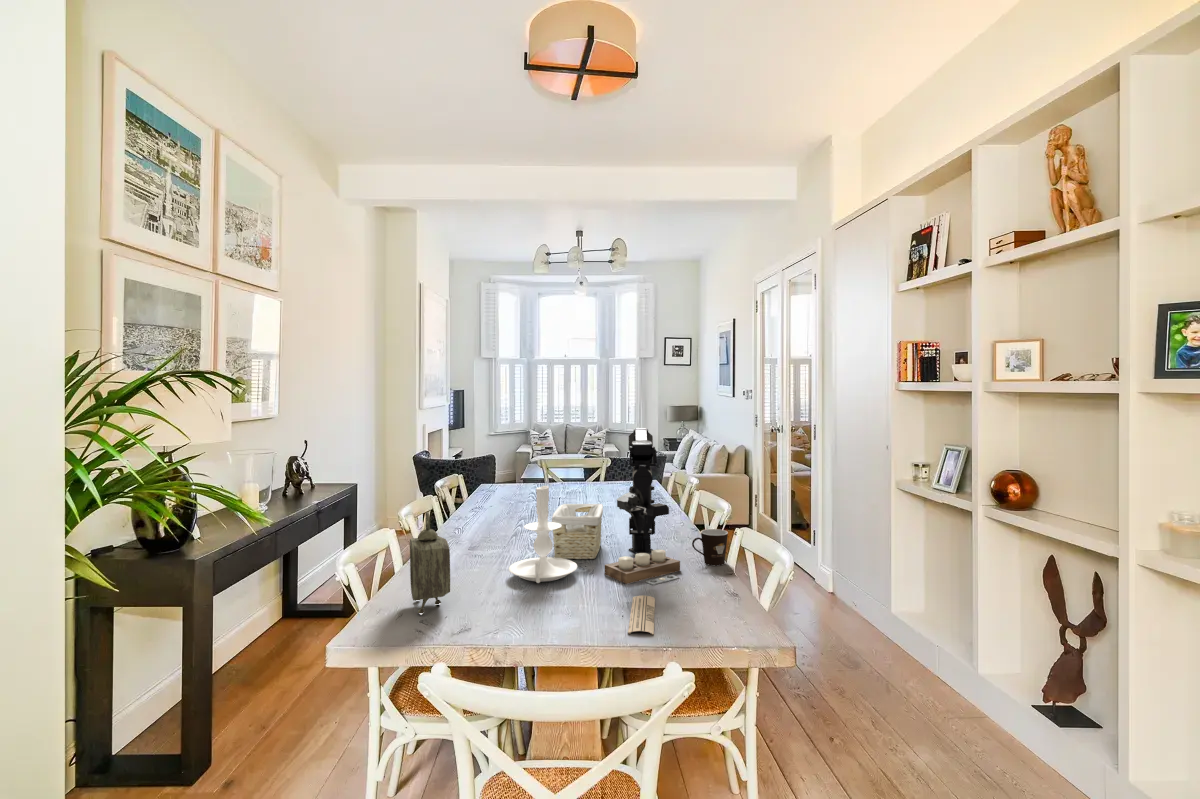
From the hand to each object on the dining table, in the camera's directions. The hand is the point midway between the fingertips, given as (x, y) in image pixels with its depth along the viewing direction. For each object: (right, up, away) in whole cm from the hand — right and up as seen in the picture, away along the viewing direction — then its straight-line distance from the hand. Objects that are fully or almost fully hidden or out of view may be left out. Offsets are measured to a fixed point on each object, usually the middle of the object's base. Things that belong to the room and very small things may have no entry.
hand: (642, 533), depth 186 cm
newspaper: (-2, -14, -34) cm, 37 cm away
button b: (0, -10, 0) cm, 10 cm away
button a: (-5, -10, -4) cm, 12 cm away
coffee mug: (+23, -12, +10) cm, 27 cm away
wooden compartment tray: (0, -12, 0) cm, 12 cm away
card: (+5, -12, -7) cm, 15 cm away
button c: (+5, -10, +4) cm, 12 cm away
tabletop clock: (-58, -13, -27) cm, 65 cm away
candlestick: (-30, -13, -5) cm, 33 cm away
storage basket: (-20, -12, +25) cm, 35 cm away
